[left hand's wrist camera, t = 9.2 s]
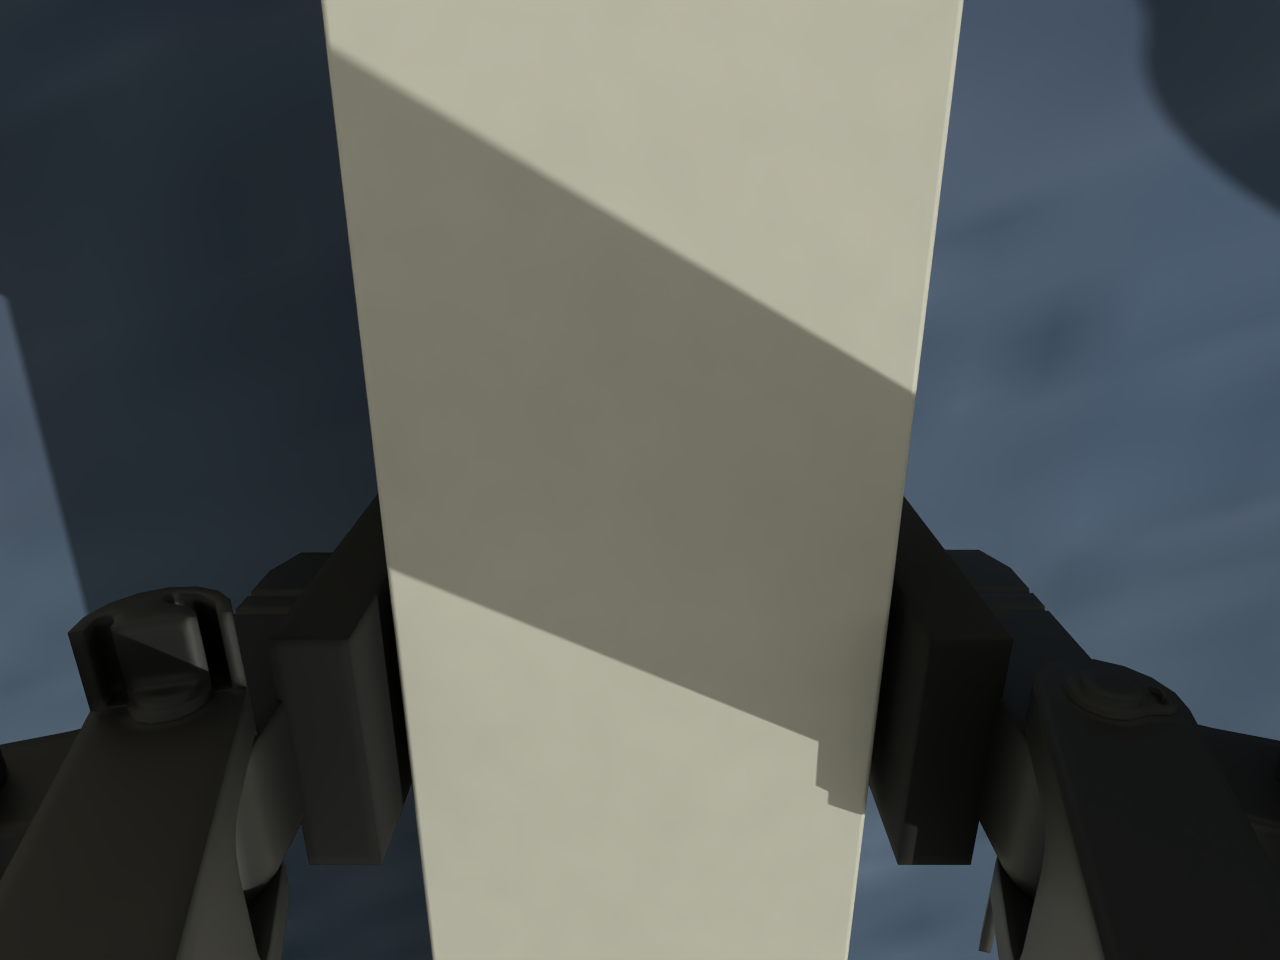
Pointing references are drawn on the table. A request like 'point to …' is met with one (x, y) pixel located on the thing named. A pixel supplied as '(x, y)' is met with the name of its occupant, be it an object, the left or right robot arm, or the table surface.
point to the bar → (641, 445)
